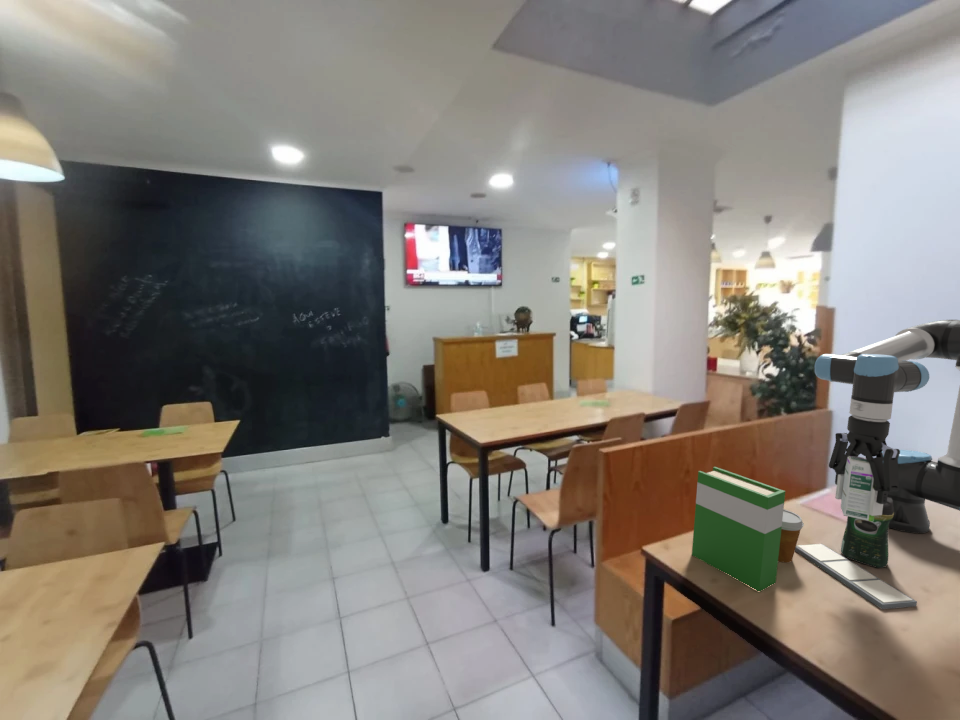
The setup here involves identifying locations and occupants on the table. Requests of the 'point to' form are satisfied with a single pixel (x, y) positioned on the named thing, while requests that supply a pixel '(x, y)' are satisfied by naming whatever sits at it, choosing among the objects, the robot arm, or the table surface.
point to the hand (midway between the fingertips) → (857, 506)
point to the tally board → (856, 577)
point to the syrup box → (857, 488)
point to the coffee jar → (868, 538)
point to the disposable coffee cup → (789, 535)
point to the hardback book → (738, 526)
